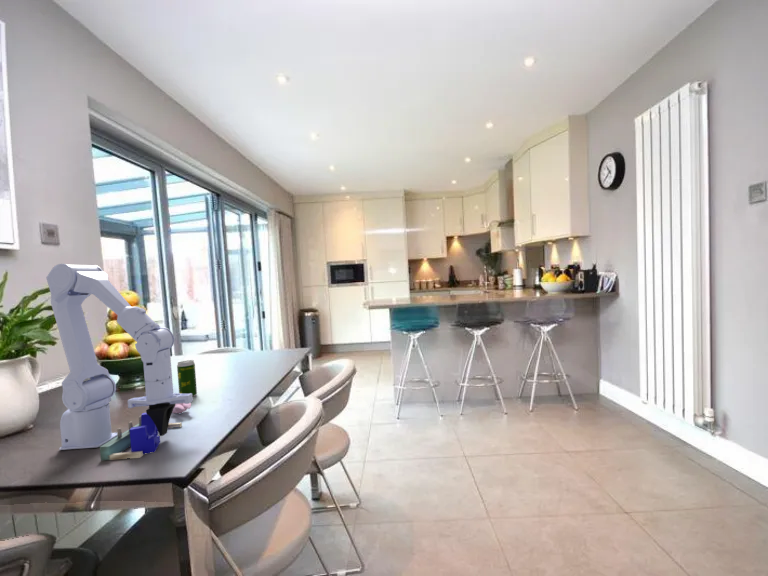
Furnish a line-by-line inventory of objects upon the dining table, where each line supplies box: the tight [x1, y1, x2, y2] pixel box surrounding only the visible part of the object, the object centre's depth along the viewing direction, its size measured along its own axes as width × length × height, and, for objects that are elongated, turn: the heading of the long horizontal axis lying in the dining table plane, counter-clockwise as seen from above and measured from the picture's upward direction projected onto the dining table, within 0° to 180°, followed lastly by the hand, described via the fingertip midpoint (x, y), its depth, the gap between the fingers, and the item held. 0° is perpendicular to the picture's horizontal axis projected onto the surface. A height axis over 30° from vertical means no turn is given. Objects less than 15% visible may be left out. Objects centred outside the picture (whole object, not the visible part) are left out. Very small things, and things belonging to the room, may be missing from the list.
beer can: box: [176, 359, 198, 398], centre depth 129 cm, size 5×5×12 cm
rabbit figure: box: [172, 402, 192, 415], centre depth 113 cm, size 6×6×15 cm
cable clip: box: [130, 412, 161, 455], centre depth 91 cm, size 12×4×6 cm, turn 21°
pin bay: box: [99, 415, 183, 461], centre depth 92 cm, size 8×18×5 cm, turn 1°
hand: (163, 434), depth 92 cm, fingers closed
